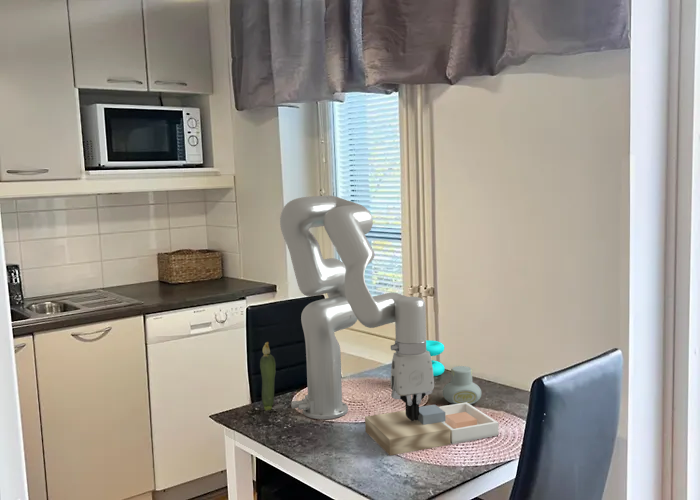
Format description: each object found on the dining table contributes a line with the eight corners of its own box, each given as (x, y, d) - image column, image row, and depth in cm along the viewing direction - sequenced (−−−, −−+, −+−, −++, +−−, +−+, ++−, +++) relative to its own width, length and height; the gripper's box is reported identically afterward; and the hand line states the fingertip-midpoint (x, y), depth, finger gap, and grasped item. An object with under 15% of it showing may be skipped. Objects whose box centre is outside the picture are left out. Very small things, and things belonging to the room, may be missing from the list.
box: (452, 444, 169) (452, 430, 169) (423, 422, 184) (423, 409, 184) (498, 435, 174) (498, 422, 173) (466, 414, 189) (466, 402, 188)
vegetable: (262, 407, 199) (259, 339, 196) (277, 406, 199) (274, 338, 197) (261, 413, 194) (258, 343, 192) (277, 412, 195) (274, 342, 192)
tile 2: (476, 419, 177) (477, 428, 177) (465, 411, 183) (465, 420, 183) (455, 423, 175) (456, 432, 175) (444, 415, 181) (444, 424, 181)
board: (389, 455, 164) (389, 439, 163) (365, 431, 179) (365, 416, 178) (450, 444, 169) (450, 428, 169) (421, 422, 184) (421, 407, 184)
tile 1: (423, 424, 172) (423, 415, 171) (413, 416, 177) (413, 407, 177) (445, 421, 174) (445, 412, 173) (435, 413, 179) (434, 404, 179)
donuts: (450, 344, 223) (422, 348, 219) (450, 374, 224) (423, 379, 220) (434, 337, 232) (407, 341, 228) (434, 367, 233) (408, 371, 229)
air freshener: (477, 397, 202) (477, 363, 201) (484, 407, 194) (484, 372, 193) (440, 398, 202) (440, 365, 201) (445, 408, 194) (444, 373, 193)
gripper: (388, 354, 166) (390, 428, 168) (445, 347, 170) (446, 419, 173) (377, 347, 173) (379, 418, 175) (431, 340, 177) (432, 409, 180)
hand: (412, 418), depth 174 cm, fingers closed
